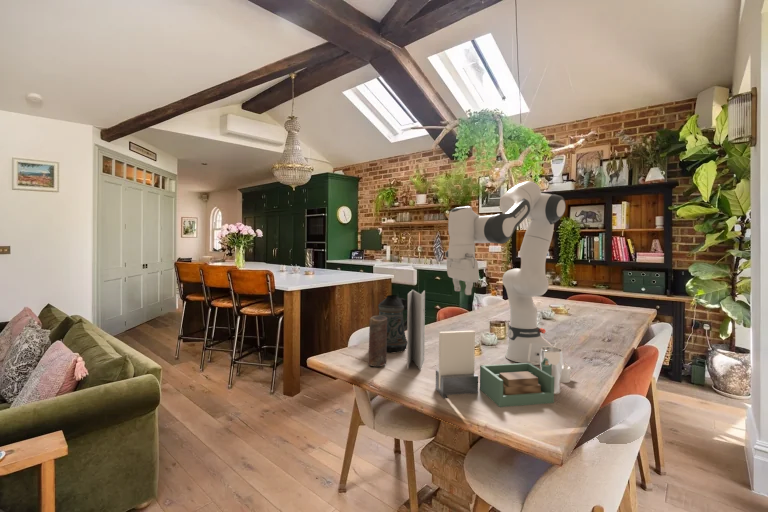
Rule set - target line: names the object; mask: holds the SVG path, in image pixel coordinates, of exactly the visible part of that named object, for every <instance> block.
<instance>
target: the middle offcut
mask: <svg viewBox="0 0 768 512" xmlns="http://www.w3.org/2000/svg"><path fill="white" fill-rule="evenodd" d="M530 393H541V385H540V384H538V385H537V386H522V387H507V386H506V385H505V384H503V394H504V395H516V394H530Z"/></svg>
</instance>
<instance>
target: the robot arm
mask: <svg viewBox="0 0 768 512" xmlns="http://www.w3.org/2000/svg"><path fill="white" fill-rule="evenodd" d="M566 205H567V204H566V201H565V198H564V197H563V196H562V195H558V194H554V193H553V194H551V193H544V192H542V190H541V187H540V186H539V185H538V184H537V183H536V182H534V181H532V180H531V181H529V180H528V181H523V182H521V183H518V184H516V185H514V186H513V187H511V188H510V189H508V190H507V191H506V192H505V193H504V194H502V196H501V197H500V200H499V209H500V210H501V213H497V214H489V215H480V214H477V213H476V212H475V211H474V210H473V207H472V206H469V205H465V206H459V207H455V208H452V209H451V210H450V211H449V215H448V221H447V222H448V223H447V226H448V231H447V232H448V235H449V241H448V249H447V250H445V253H444V256H445V258H446V273H447V277H449V278H451V279H452V283H453V286H454V291H455V292H460V291H461V284H460V281H462V282H464V283H465V289H464V295H466V296H471V295H472V289H473V287H474V283H478V282H479V280H480V273H479V272H480V271H479V270H480V269H479V263H478V262H479V261H478V260H477V259H476V247H475V246H476V244H500V245H501V244H502V245H503V244H505V243H507V242H509V240H510V239H511V237H512V236H513V234H514V232H515V230H516V229H517V228H518V227H519V226H520V224H521V223H522V222H524V220H525V219H528V220H529V219H530V222H529V223H528V225H527V228H526V230H525V233H524V237H523V238H522V239H523V240H522V243H521V246H520V248H519V249H520V250H519V251H518V252H519V253H518V254H519V257H520V268H517V267H516V268H515V267H514V268H512V269H511V268H510V269H509V270H506V271H505V272H504V273H503V275H502V284H503V286H504V288H505V290H506V294H507V299H508V304H509V325H508V344H507V349H506V354H505V358H506V359H507V360H510V361H513V362H516V363H530V364H532V365H534V366H538V365H539V366H540V353H541V347H545V346H550V347H554V345H553V344H552V343H550V342H549V340H547V339H545V338H544V337H543V336H542V335H541V334H544V335H545V333H546V329H545V328H542V327H541V328H540V327H538V309H537V306H536V305H535V302H534V300H533V297H541V296H543V295H544V294H546V292H547V291H548V290H549V285H550V284H549V283H550V282H549V279H548V277H547V275H546V261H547V256H548V254H549V249H550V246H551V243H552V239H553V234H554V231H555V230H554V228H555V224H556V223H557V222H558V221H559V220H560V219H561V218H562V217H563V216H564V214H565V211H566V208H567V207H566Z"/></svg>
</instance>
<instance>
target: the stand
mask: <svg viewBox="0 0 768 512" xmlns="http://www.w3.org/2000/svg"><path fill="white" fill-rule="evenodd" d="M435 390H436V392H437V393H439V395H440V396H441V397H442V399H449V397H448V396H451V395H453V396H454V395H468V394H479V375H478V374H476V373H474V374H460V375H443V376H441V390H440V389H439V369H436V370H435Z"/></svg>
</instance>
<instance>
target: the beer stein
mask: <svg viewBox="0 0 768 512" xmlns="http://www.w3.org/2000/svg"><path fill="white" fill-rule="evenodd" d="M377 306H378V310H379V313H378V316H380V315H382V316H385V317H387V352H386V354H389V353H390V354H392V353H391V352H396V353H401V351H402V352H403V351H406V350H407V335H406V330H407V319H408V317H407V318H406V319H405V321H404V314H403V311H408V299H405V298H403V297H399V296H398V295H396V294H393V295H392V294H391V295H387V296H386V297H385V298H384V299H383V300H382V301H381V302H379V304H378V305H377ZM405 349H406V350H405Z"/></svg>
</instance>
